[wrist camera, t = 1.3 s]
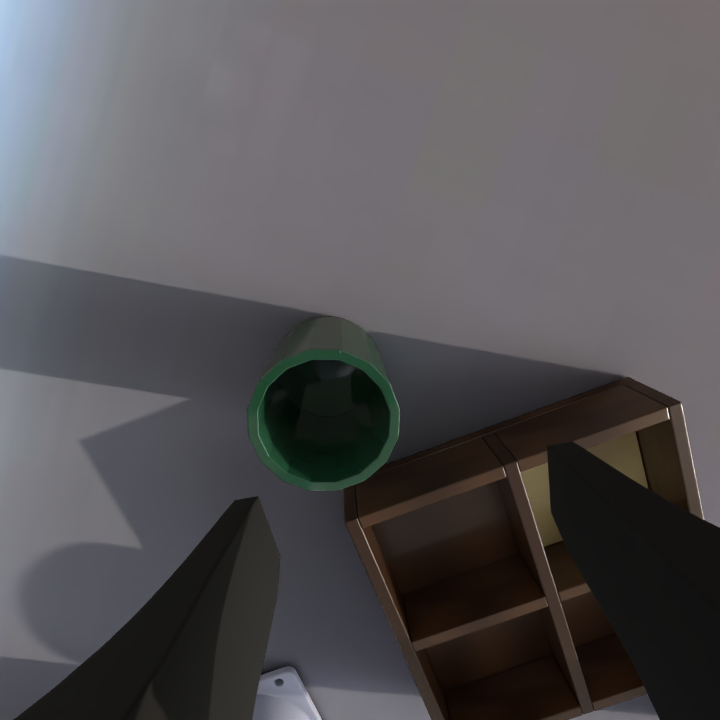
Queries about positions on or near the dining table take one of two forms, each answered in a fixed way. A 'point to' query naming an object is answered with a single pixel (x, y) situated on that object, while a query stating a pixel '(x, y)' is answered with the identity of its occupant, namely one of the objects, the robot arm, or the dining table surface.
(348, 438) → the tumbler
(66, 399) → the dining table surface
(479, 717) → the rack
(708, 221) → the dining table surface
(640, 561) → the robot arm
